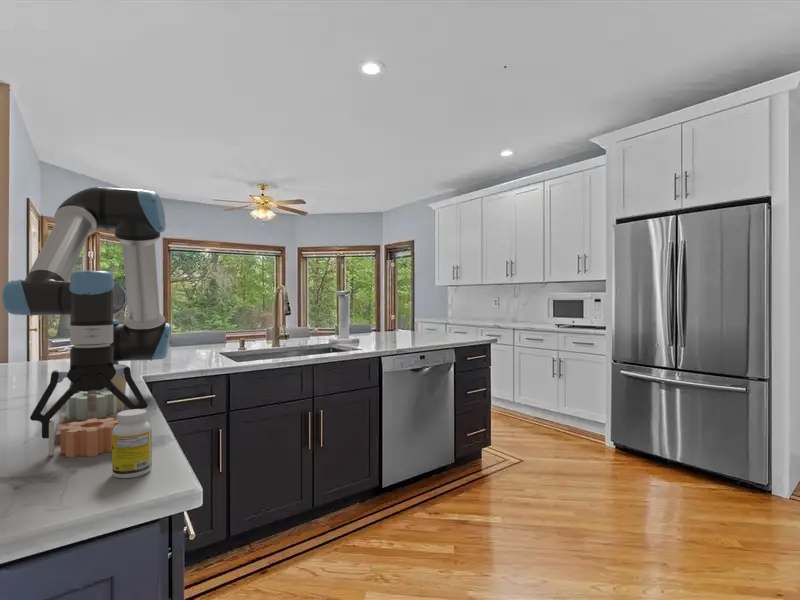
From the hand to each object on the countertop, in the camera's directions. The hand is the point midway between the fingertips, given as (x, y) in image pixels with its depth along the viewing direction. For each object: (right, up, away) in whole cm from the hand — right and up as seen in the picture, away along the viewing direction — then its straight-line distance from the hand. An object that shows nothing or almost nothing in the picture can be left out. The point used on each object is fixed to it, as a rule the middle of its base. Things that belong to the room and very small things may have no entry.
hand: (92, 448), depth 99 cm
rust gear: (0, 0, 0) cm, 0 cm away
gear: (-13, +2, +20) cm, 24 cm away
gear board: (-10, 0, +15) cm, 18 cm away
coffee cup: (-16, 0, +31) cm, 35 cm away
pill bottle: (+15, -1, -13) cm, 20 cm away
